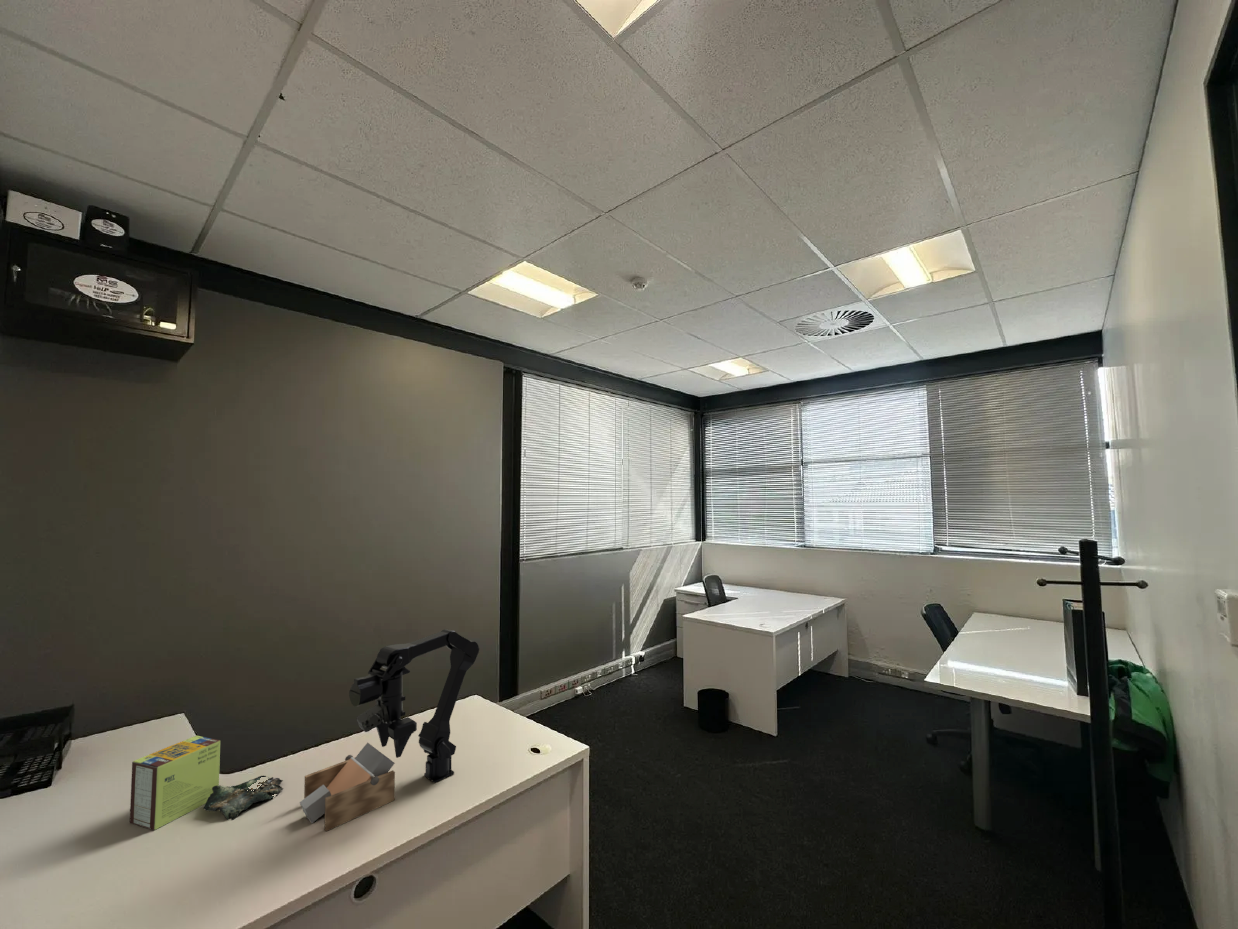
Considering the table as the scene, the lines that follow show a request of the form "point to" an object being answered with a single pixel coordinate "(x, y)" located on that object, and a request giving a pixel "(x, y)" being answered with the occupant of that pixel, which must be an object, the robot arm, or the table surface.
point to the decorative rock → (241, 796)
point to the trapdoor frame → (350, 794)
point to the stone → (315, 803)
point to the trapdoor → (361, 769)
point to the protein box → (173, 781)
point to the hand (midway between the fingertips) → (391, 751)
